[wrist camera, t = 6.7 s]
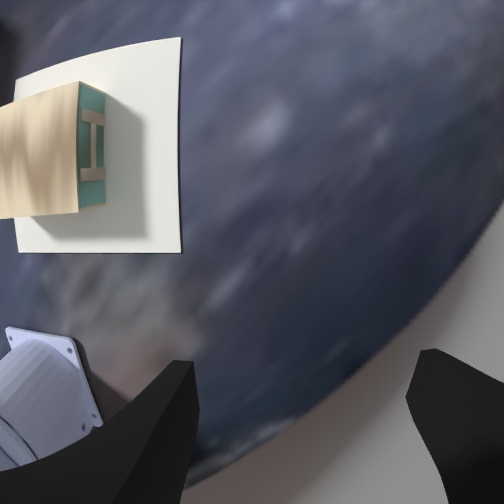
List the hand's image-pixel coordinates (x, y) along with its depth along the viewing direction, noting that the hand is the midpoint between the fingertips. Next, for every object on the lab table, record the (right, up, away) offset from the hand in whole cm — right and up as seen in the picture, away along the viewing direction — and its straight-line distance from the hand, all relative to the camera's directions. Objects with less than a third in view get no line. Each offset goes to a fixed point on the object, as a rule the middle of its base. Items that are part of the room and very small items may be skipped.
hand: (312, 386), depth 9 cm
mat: (-13, +10, +7) cm, 18 cm away
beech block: (-11, +10, +6) cm, 16 cm away
